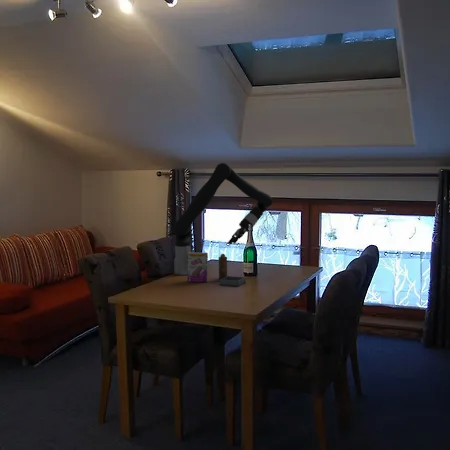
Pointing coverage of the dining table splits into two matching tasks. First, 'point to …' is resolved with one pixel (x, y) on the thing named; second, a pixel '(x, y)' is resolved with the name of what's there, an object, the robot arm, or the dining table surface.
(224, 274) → the pepper mill
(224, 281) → the tray
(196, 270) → the candy bar box
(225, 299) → the dining table surface
